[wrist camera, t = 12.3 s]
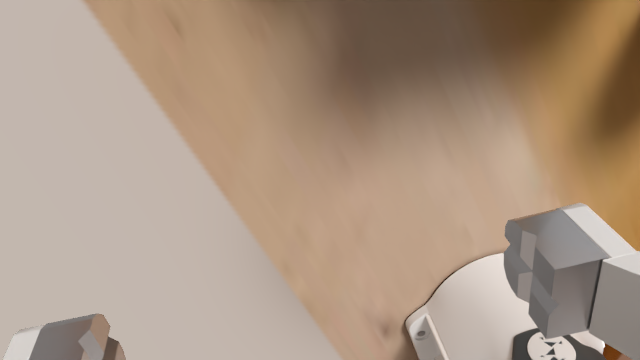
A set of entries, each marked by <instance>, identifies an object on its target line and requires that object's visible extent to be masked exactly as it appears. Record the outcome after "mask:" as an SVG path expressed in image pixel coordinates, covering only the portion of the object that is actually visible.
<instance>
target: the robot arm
mask: <svg viewBox="0 0 640 360" xmlns="http://www.w3.org/2000/svg"><path fill="white" fill-rule="evenodd" d="M505 237H506V239H507V240H508V241H509V243H510V246H509V247H508V248H507V249H506V251H505V252H504V253H500V254H495V255H491V256H487V257H484V258H481V259H478V260H476V261H474V262H472V263H470V264H468V265H466V266H464V267H462V268H461V269H459V270H458V271H456V272H455V273H454V274H452V275H451V276H450V277H449V278H448V279H446V280H445V281H444V282H443V283H442V284H441V286H440V287H439V288H438V289H437V290H436V292H435V293H434V295H433V296H432V297H431V299H430V300H429V301H428V302H427V303H426V304H425V305H424V306H423V307H421V308H420V309H418V310H417V311H416V312H414V313H413V314H412V315H411V316H410V317H409V318H408V319H407V320H406V328H407V330H408V333H409V335H410V338H411V341H412V343H413V346H414V348H415V351H416V353H417V356H418V358H419V360H606V359H605V357H604V356H603V355H602V354H603V348H604V347H605V344H604V342H605V343H607V344H608V345H610V346H611V347H613V348H615V349H616V350H618V351H620V352H621V353H623V354H625V355H626V356H628V357H630V358H631V359H633V360H640V251H639V252H637V251H636V250H635V249H634V248H632V247H631V246H630V245H629V244H628V243H627V242H626V241H625V240H624V239H623V238H622V237H621V236H620V235H618V234H617V233H616V232H615V231H614V230H613V229H612V228H611V227H610V226H609V225H608V224H607V223H605V222H604V221H603V220H602V219H601V218H600V217H599V216H598V215H597V214H596V213H595V212H594V211H592V210H591V209H590V208H589V207H588V206H587V205H585V204H582V203H577V204H573V205H569V206H565V207H561V208H556V209H555V210H550V211H545V212H541V213H537V214H533V215H528V216H524V217H520V218H516V219H511V220H508V222H507V224H506V226H505ZM109 330H110V325H109V323H108V322H107V320H106V319H105V317H104V315H102V314H92V315H88V316H83V317H78V318H73V319H68V320H63V321H58V322H53V323H48V324H46V325H41V326H36V327H31V328H26V329H21V330H19V331H18V332H17V333H16V334H15V335H14V336H13V337H12V340H11V342H10V344H9V346H8V348H7V351H6V353H5V355H4V357H3V360H126V358H125V355H124V351H123V349H122V347H121V345H120V343H119V342H118V341H116V340H114V339H112V338H110V337H108V334H109Z"/></svg>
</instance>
